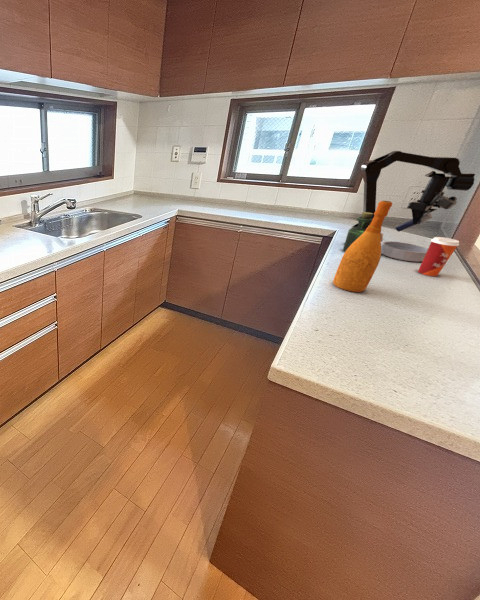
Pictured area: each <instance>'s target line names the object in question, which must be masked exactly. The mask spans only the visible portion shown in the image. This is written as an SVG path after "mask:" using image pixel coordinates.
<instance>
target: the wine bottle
mask: <svg viewBox="0 0 480 600" xmlns="http://www.w3.org/2000/svg"><path fill="white" fill-rule="evenodd" d="M392 206H393V202H392V201H390V200H380V201H379V202H378V203H377V206H376V208H375V212H374V215H375V216H374V218H373V220H372V222H371V224H370V225H369V226H368V228H367V229H366V230H365V232H364V233H363V234H362V235H361V236H360V237H359V238H358V239H356V240H355V241H354V242H353V243H352V244H351V245H350V246H349V248H348V249H347V250H346V252H344V253H343V255H342V257H341V259H340V262H339V264H338V267H337V269H336V272H335V275H334V278H333V280H332V283H333V285H334V286H335V287H337V288H339V289H341V290H344V291H348V292H355V293H359V292H363V291H365V290H366V289H367V287H368V286H369V284H370V282H371V280H372V278H373V277H374V274H375V272H376V270H377V268H378V266H379V264H380V261H381V257H382V254H381V245H382V243H383V242H384V241H383V240H384V233H382V226H383V223H384V221H385V218H386V217H387V216H388V215H389V212H390V209H391V208H392Z"/></svg>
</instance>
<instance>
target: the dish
mask: <svg viewBox="0 0 480 600" xmlns="http://www.w3.org/2000/svg"><path fill="white" fill-rule="evenodd" d="M427 250H428V248H427V247H424V246H421V245H417V244H413V243H408V242H402V241H390V240H389V241H388V240H387V241H382V242H381V255H383V256H386V257H388V258H391V259H394V260H399V261H404V262H415V263H416V262H417V263H418V262H422V261H423V259H424V257H425V255H426V252H427Z"/></svg>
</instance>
